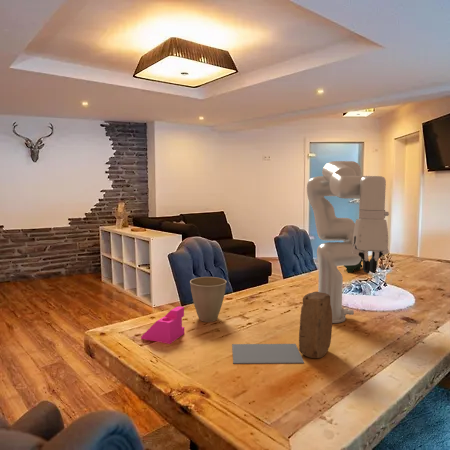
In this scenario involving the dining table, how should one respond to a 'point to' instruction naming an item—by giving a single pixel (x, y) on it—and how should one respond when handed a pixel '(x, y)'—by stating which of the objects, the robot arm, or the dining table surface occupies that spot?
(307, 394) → the dining table surface
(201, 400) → the dining table surface
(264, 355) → the mat
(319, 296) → the block
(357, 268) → the toy figurine
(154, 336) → the bracket
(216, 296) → the plant pot
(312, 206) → the robot arm
